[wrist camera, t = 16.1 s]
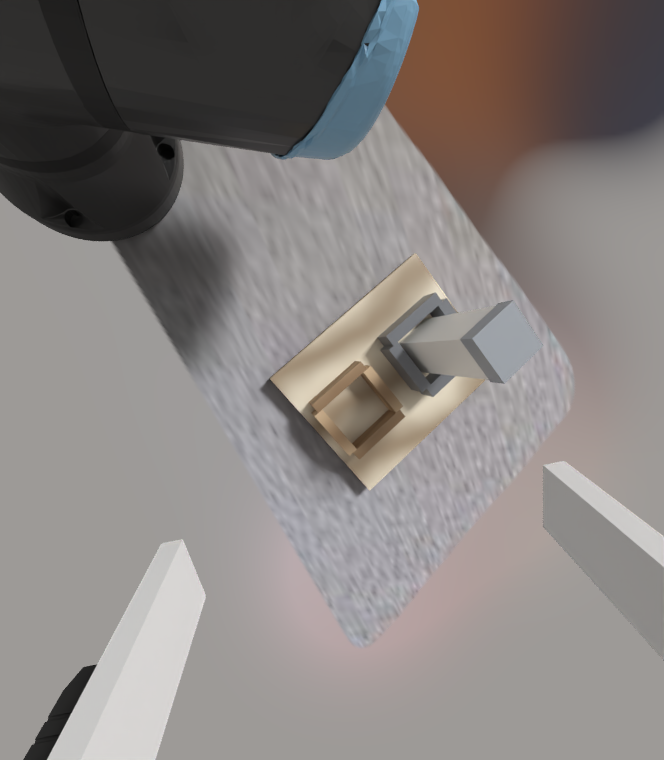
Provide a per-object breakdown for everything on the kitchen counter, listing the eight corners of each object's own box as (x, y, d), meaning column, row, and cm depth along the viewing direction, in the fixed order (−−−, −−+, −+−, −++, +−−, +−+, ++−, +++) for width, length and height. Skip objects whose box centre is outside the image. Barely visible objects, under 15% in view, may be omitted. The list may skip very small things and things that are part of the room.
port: (372, 341, 36) (381, 340, 34) (427, 292, 37) (439, 288, 35) (428, 411, 38) (440, 415, 36) (478, 363, 39) (493, 364, 37)
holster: (304, 405, 35) (307, 408, 33) (358, 357, 36) (364, 358, 34) (350, 457, 37) (355, 463, 35) (400, 410, 38) (409, 413, 36)
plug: (396, 343, 37) (472, 338, 24) (424, 318, 37) (513, 300, 25) (419, 373, 38) (504, 383, 25) (446, 347, 38) (543, 345, 26)
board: (269, 378, 35) (270, 379, 34) (410, 256, 38) (415, 253, 37) (366, 486, 39) (369, 490, 37) (490, 367, 41) (497, 368, 40)
